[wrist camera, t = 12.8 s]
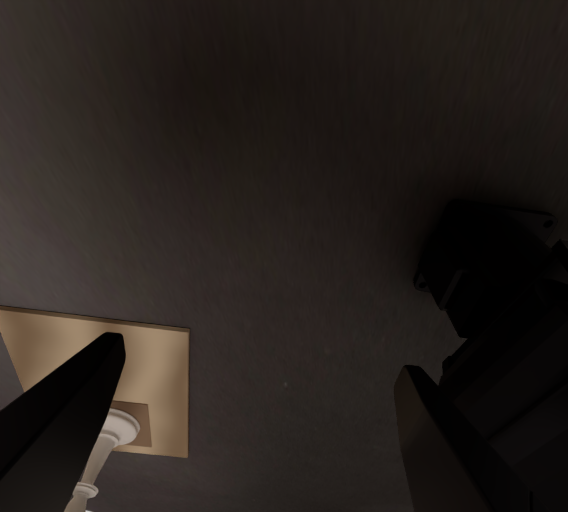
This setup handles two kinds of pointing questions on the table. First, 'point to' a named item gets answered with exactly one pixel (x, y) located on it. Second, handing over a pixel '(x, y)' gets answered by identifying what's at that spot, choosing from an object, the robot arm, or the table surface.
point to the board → (134, 378)
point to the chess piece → (103, 455)
